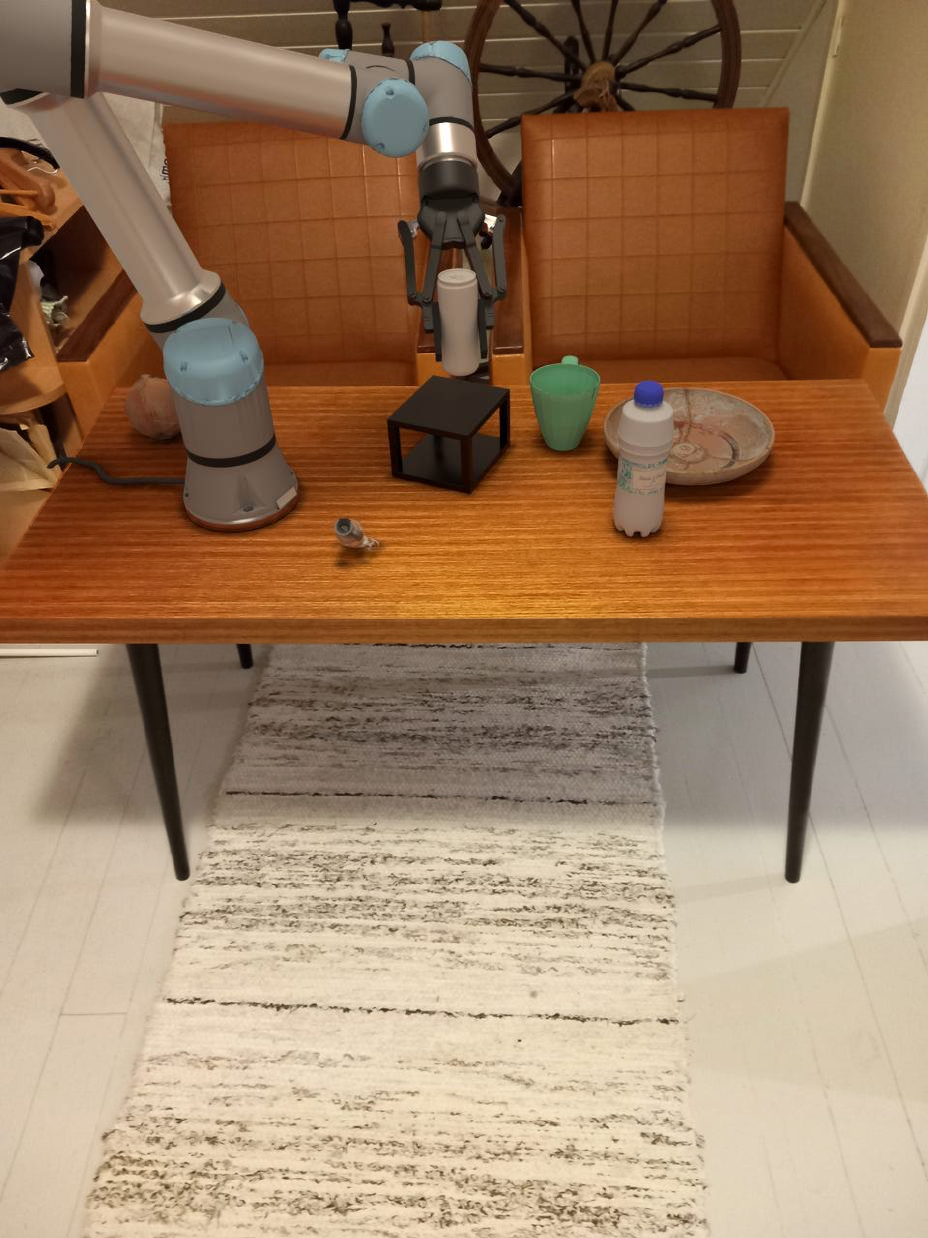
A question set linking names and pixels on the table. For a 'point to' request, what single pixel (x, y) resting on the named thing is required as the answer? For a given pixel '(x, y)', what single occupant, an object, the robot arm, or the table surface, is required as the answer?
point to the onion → (152, 408)
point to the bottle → (643, 460)
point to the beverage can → (458, 321)
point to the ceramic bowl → (707, 435)
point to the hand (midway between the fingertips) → (461, 355)
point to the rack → (450, 433)
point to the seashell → (351, 533)
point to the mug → (564, 401)
